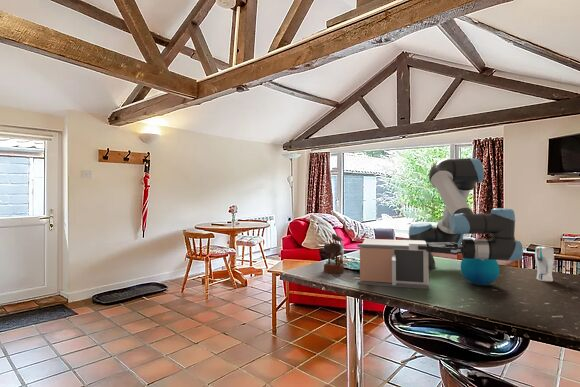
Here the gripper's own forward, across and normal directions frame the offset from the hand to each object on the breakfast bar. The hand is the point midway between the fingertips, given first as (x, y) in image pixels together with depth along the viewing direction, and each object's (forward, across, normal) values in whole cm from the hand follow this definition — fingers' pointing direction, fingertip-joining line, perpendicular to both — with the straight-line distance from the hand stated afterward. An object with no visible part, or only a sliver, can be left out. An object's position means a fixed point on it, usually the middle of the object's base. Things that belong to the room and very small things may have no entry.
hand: (409, 246), depth 136 cm
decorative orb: (-30, +21, -20) cm, 42 cm away
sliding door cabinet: (+7, +18, -20) cm, 28 cm away
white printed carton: (-60, +37, -20) cm, 74 cm away
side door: (+13, +4, -18) cm, 23 cm away
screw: (+34, +49, -21) cm, 63 cm away
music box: (+37, +31, -20) cm, 52 cm away
